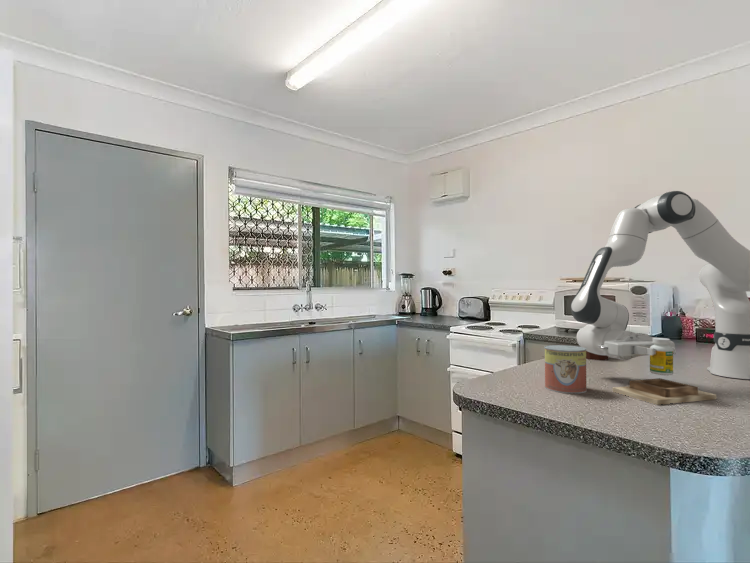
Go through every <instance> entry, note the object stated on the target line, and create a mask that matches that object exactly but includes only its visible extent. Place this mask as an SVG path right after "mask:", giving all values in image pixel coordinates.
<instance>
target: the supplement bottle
mask: <svg viewBox="0 0 750 563" xmlns="http://www.w3.org/2000/svg"><path fill="white" fill-rule="evenodd" d="M670 341H671V339H670V338H666V337H656V338H653V344H654V345H652V346H651V347H650V348H654V349H656V350H657V352H656V353H657V354H656V355H649V372H650V373H651V374H653V375H658V376H673V374H674V354H673V348H672V347H670V346H669V344H670Z"/></svg>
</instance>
